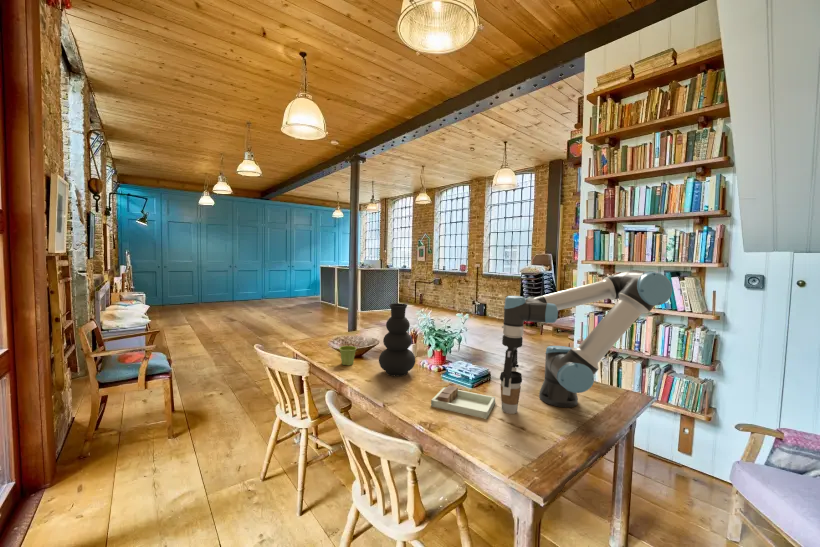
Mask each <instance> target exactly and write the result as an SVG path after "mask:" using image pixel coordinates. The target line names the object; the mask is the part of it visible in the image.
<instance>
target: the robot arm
mask: <svg viewBox="0 0 820 547" xmlns="http://www.w3.org/2000/svg"><path fill="white" fill-rule="evenodd" d="M672 294H673V287H672V283H671V281H670V279H669V278H668V277H667V276H666V275H664V274H662V273H659V272H656V271H651V270H650V271H646V270H637V269H634V270H633V269H632V270H627V271H624V272H623V271H622V272H620V273H616V274H613V275H610V276H606V277H604V278H603V279H602V280H599V281H596V282H591V283H588V284H584V285H580V286H576V287H572V288H567V289H564V290H559V291H557V292H551V293H548V294H544V295H538V296H536V297H534V296H529V297H526V298H525V296H520V295H507V296H506V297H505V299H504V307H503V324H502V325H501V329H502V334H503V335H502V338H501V339H502V341H501V342H502V343H501V344H502V345H503V346H504V347H506V350H505V352H504V353H505V358H504V364H503V371H502V372H503V375H502V376H501V377H502V378H503V395H508V396H510V390H511V372H512V371H516V372H517V368H519V366H520V364H518V363H519V362H518V353H519V352H518V349H519V348H521V347H523V339H524V338H523V336H524V323H525V322H529V323H531V322H532V323H545V324H549V323H550V324H554V323H556V322H557V320H558V317H559V316H558V315H559V314H558V313H559V311H560V310H561V311H562V310H566V309H570V308H573V307H574V308H575V307H578V306H582V305H586V304H591V303H595V302H598V301H603V300H608V299H609V300H611V301H614V300H617V301H616V303H615V304H614V305H613V306H612V307H611V308H610V309H609V311H608V312H607V314H605V316H603V318H602V319H601V320H600V321H599V322H598V324H597V325H596V326H595V327H594V328H593V329H592V330H591V332H590V333H589V334H588V335H587V336H586V337H585V338H584V340H583V341H582V342H581V343H580V345H579V346H577V347H571V346H564V345H550V346H549V345H548V346H547V347H546V348H545V353H544V354H545V360H544V361H545V362H544V364H545V365H544V380H543V383H542V384H541V387H540V390H539V395H538V397H539V400H541V401H542V402H543V403H546V404H548V405H551V406H554V407H559V408H574V407H577V405H578V404H579V403H578V401H579V397H578V394H580V393H581V394H582V393H585V392H587V391H588V390H590V389H591V388H592V386H593V385H594V382H595V374H596V373H597V372H598V370H599V369H600V368H599V362H601V361H602V359H603V358H604V357H605V356H606V354H607V353H608V352H609V351H610V350H611V349H612V348H613V347H614V345H616V343H617V342H618V341H619V340H620V339H621V337H622V336H623V335H624V334H625V333H626V332H627V331H628V330H629V329H630V328H631V326H632V325H633V324H634V322H636V320H637V319H638V318H639V317H640V315H643V314H649V313H650V312H651V311H652V310H653V309H654V308H655V306H660V305H664V304H665V303H667V302H668V301H669V299H670V298H671V296H672Z"/></svg>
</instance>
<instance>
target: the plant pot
mask: <svg viewBox="0 0 820 547" xmlns="http://www.w3.org/2000/svg"><path fill="white" fill-rule="evenodd" d="M338 350H339V352H340V359H341V361H340V362H341V364H342V366H352V365H353V364H354V361H355V354H356V352H357V346H354V345H343V346H339V348H338Z"/></svg>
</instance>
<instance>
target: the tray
mask: <svg viewBox="0 0 820 547" xmlns="http://www.w3.org/2000/svg"><path fill="white" fill-rule="evenodd" d="M447 387H448V386H447ZM447 387H446V386H444V387H442V388H441V389H440V391H438V392H437V394H436V395H435V396H434V397H432V399H430V401H431V402H430V405H431V407H432V408H436V409H441V410H446V411H450V412H455V413H459V414H464V415H467V416H472V417H476V418H481V419H484V420H487V419H488V418H489V416H490V414H491V412H492V411H493V410H492V409H493V407H494V406H495V404H496V397H495V396H491V395H488V394H487V395H485V394H481V393H478V392H477V393H476V392H471V391H467V390H461V389H458V397H457V398H456V399H455V400H453V401H452V402H451V403H448V402H443V401H439V400H438V396H439V394H440V393H441V392H442V391H443V390H444V389H446V388H447Z"/></svg>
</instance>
